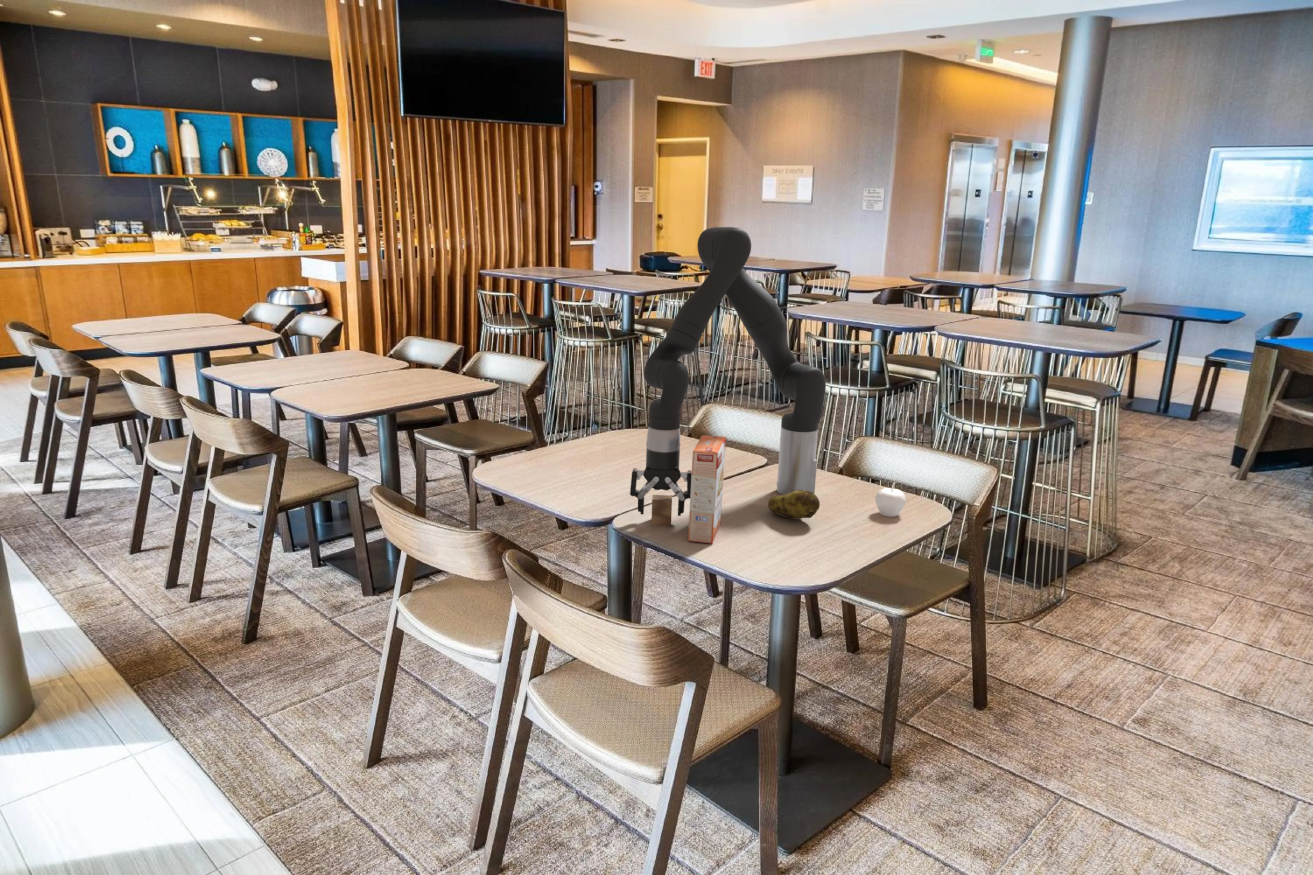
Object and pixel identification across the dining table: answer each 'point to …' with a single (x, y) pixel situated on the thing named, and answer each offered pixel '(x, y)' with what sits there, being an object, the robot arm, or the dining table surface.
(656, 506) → the walnut block
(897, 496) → the plain white apple
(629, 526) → the dining table surface
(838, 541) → the dining table surface
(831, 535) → the dining table surface
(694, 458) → the cracker box
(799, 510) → the potato
